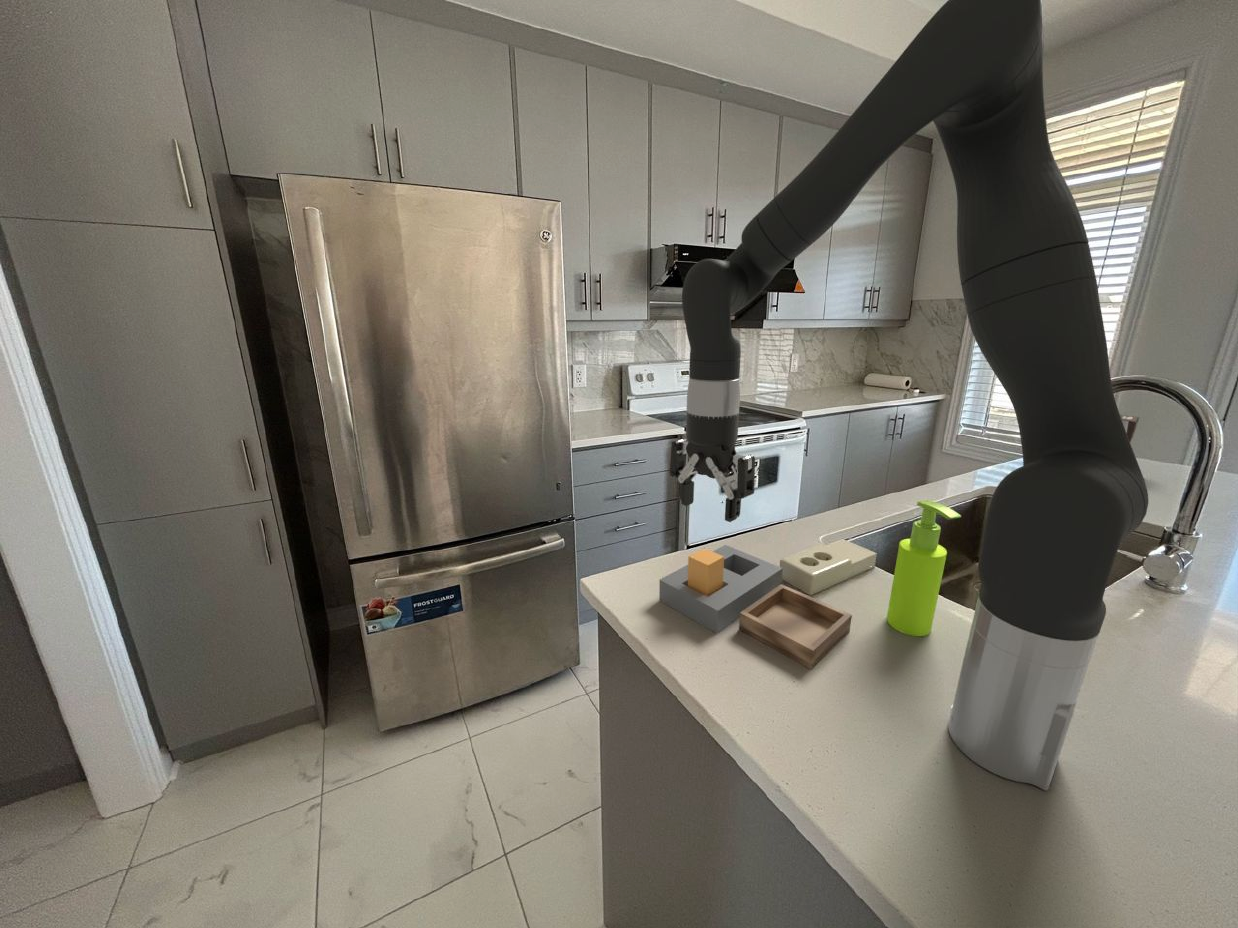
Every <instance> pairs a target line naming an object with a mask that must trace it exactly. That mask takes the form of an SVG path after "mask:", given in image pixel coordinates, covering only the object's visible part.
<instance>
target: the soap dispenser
mask: <svg viewBox="0 0 1238 928" xmlns="http://www.w3.org/2000/svg"><path fill="white" fill-rule="evenodd" d="M916 507H920V508H922V513H921V517H920V519H919V520H914V522H913V523H912V528H911V529H912V530H911V535H910V538H905V539H901V540H900V541H899V545H898V551H897V555H896V563H895V568H894V574H893V580H892V585H891V590H890V597H889V603H888V609H887V614H886V620H887V623H888V624H889V625H890V626H891V628H893V629H894V630H896V631H898V632H899V633H902V634H906V635H908V636H913V637H922V636H923V637H924V636H927V635H929V634H930V633H931V632H932V628H933V627H932V626H933V624H934V623H933V622H934V619H935V613H936V607H937V603H938V598H939V592H940V589H941V584H942V579H943V574H944V569H945V565H946V564H945V563H946V560H947V555H948V551H947V549H946V548H945V547H943V546H942V545H940V544H939V540H940V535H941V530H942V527H941V526H940V525H939V524H937V522H936V519H937V518H936V517H937V514H938V515H940V516H942V517H943V518H944V519H946V520H955V519H960V518H962V515H961V514H959V513H958V512H956V511H955V510H954V509H952V508H950V507H948V506H946V505H944V504H942V503H938V502H935V501H932V500H921V501H917V504H916Z"/></svg>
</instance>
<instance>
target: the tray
mask: <svg viewBox="0 0 1238 928" xmlns="http://www.w3.org/2000/svg"><path fill="white" fill-rule="evenodd" d="M852 617H853V615H852V614H851V613H848V612H846V611H844V610H842V609H839V608H837V607H835V606H832V605H831V604H828V603H826V602H824V601H822V600H818V599H817V598H814V597H811V595H809V594H806V593H803V592H800V591H798V590H797V589H793V588H791V587H789V586H786V585H785V584H782V583H781V585H779V586H778V587H776V588H775V589H773V590H772V591H771V592H769V593H768V594H766V595H765V596H763V597H762V598H760V599H759V600H758V601H756V602H755V603H753V604H752V605H750V606H749V607H748V608H746V609H745V610H743V611H742V612H740V618H739V623H738V630H739V631H741V632H742V633H745V634H746V635H748V636H749V637H752V638H754V639H755V640H757V641H759V642H761V643H763V644H764V645H766V646H769V647H770V648H772V649H773V650H775V651H777V652H779V653H781V654H783V655H784V656H786V657H788V658H790V659H791V660H794V661H795V662H797V663H799V664H801V665H803V666H805V667H806V668H808V669H810V670H812V669H813V668H814V667H815V666H816V665H817V664H818V663H819V662H821V660H822V659H823V658H824V657H826V655H828V654H829V653H830V651H832V649H834V648H835V647H836V646H837V645H838V644H839V642H841V641H842V640H843V639H844V638H845V637H846V636H847V635H848V634H849V633H850V630H851V625H852V624H851V623H852Z"/></svg>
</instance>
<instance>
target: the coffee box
mask: <svg viewBox="0 0 1238 928" xmlns="http://www.w3.org/2000/svg"><path fill="white" fill-rule="evenodd" d="M1120 416H1121V419H1122V422H1123V425H1124V428H1125V430H1126V433H1127V436H1128V439H1129V441H1130V444H1131V445H1132V442H1133V439H1134V435H1135V433H1136V429H1137V426H1138V422H1139V420H1140V416H1136V415H1135V416H1133V415H1126V414H1125V415H1123V414H1120Z"/></svg>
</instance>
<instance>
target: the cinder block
mask: <svg viewBox="0 0 1238 928" xmlns="http://www.w3.org/2000/svg"><path fill="white" fill-rule="evenodd" d="M712 552H714V553H717V554H719V555H721V556H724V569H723V588H722V589H720V590H718V591H717V592H715V593H713V594H712V595H710V596H709V597H707V596H705V595H703V594H701V593H699V592H698V591H696V590H694V589H692V588H690V587H688V564H687V565H684V566H682V567H681V568H678V569H677V570H676V571H673V572H671V573H669V574H668V575H666V576H663V577H662V578H660V579H659V590H658V591H659V595H658V596H659V602H661V603H663V604H664V605H667V606H668V607H670V608H672V609H674V611H675V610H676V611H677V612H679V613H681V614H683V615H684V616H686V617H687V618H689V619H691V620H693V621H694V622H696V623H698V624H700V625H702V626H703V627H704V628H706V629H708V630H710V631H712V632H714V634H719V633H720V632H721V631H723V630H724V629H725V628H727V627H729V626H730V625H731V624H733V623H734V622H735V621H737V620H738V619H740V612H742V611H743V610H745V609H746V608H748V607H749V606H750V605H752V604H753V603H755V602H756V601H758V600H759V599H760V598H762V597H763V596H765V595H766V594H768V593H769V592H771V591H772V590H773V589H775V588H776V587H778V586H779V585H781V584H782V581H783V579H782V571H783V568H781V567H779V566H780V565H775V564H774V563H771V562H769V561H766V560H763V559H761V558H759V557H756V556H754V555H752V554H748V553H746V552H744V551H742V550H739V549H737V548H734V547H733V546H732V547H731V546H729V545H726V544H724V545H722V546H720V547H719V548H717V549H715V550H713V551H712Z"/></svg>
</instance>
